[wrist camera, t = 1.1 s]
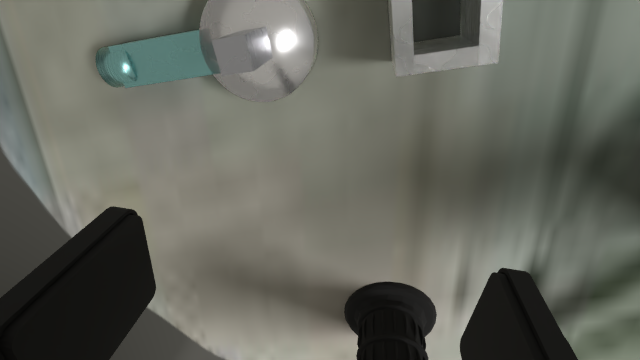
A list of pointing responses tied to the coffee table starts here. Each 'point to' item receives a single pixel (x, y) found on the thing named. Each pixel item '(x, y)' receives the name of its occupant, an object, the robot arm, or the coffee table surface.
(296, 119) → the coffee table surface
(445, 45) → the hollow white cube
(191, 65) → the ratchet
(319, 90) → the coffee table surface
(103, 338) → the robot arm
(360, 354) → the handle grip
